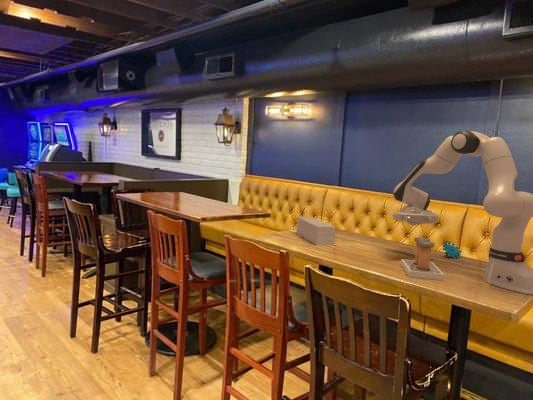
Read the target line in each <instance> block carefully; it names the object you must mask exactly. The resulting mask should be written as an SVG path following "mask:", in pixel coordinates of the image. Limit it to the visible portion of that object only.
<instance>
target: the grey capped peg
mask: <svg viewBox="0 0 533 400" xmlns="http://www.w3.org/2000/svg"><path fill="white" fill-rule="evenodd" d="M418 246H420V253H419V263H418V269H419V270H423V271H429V264H430V262H431V252H432V248H435V242H433V241H430V242H429V241H418Z"/></svg>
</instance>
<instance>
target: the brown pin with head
mask: <svg viewBox="0 0 533 400" xmlns="http://www.w3.org/2000/svg"><path fill="white" fill-rule="evenodd" d="M413 241H414V242H415V243H416V246H415V255H414V260H415V264H414V265H418V263H419V253H420V246H418V241H429V242H431V239H430V238H427V237H420V236H418V237H417V236H416V237H414V240H413Z"/></svg>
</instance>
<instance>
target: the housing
mask: <svg viewBox="0 0 533 400" xmlns="http://www.w3.org/2000/svg"><path fill="white" fill-rule="evenodd" d="M414 264H415V259H404V258H403V259H402V258H401V259H400V266H401V268H402V269H403V271H404V272H405V274H406V276H407V277H408V278H413V279H424V280H433V281H445V273H444V272H443V271H441V269H440V268H439V267H438V266H437V265H436V264H435V263H434V262H433V261H430V264H429V271H423V270H419V269H418V265H414Z"/></svg>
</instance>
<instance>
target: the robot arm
mask: <svg viewBox="0 0 533 400" xmlns="http://www.w3.org/2000/svg"><path fill="white" fill-rule="evenodd" d="M464 155H465V156H469V157H476V158H481V159H482V162H483V166H484V169H485V172H486V176H487V181H488V191H487V195H485V197H484V199H483V203H482V204H483V210H484V212H486V213H487V214H488V215H489V216H493V217H496V218H501V219H500V221H499V223H498V225H496V226H495V227H494V228H493V231H492V237H491V245H490V247H489V251H488V262H487V263H488V264H487V266H486V269H485V273H484V275H483V276H482V280H484V281H486V282H487V283H490V284H489V285H490V286H494V287H498V288H502V289H506V290H509V291H513V292H517V293H522V294H525V295H533V268H531V267H530V265H528V264H527V263H526V262H525V259H527V258H528V255H527V254H524V253H523V252H522V247H523V240H524V235H525V232H526V229H527V227H528V225H529V223H530V221H531V219H532V217H533V194H532V193H530V192H528V191H527V192H526V191H518V190H517V191H516V190H515V180H516V179H518V175H519V172H518V170H517V168H516V163H515V161H514V158H513V155H512V152H511V150H510V147H509V146H508V144H507V142H506V141H505V139H504V138H502V137H500V136H490V135H489V134H485V133H481V132H478V131H472V130H466V129H465V130H460V131H457V132H455V133H454V135H449V136H448V137H446V138H445V139H444V141H443V142H441V144H440V145H439V147H438V148H437V149H436V151H435V152H434V153H433V155H431V156H430V157H427V158H423V159H421V160H420V161H419V162H418V163H417V164H416V165H415V166H414V167H413V168H412V170H410V172H409V173H408V174H407V175H406V176H405V177H404V178H403V179H402V180H401V181H400V182H399V183H398V184H397V185H396V186H395V187H394V188H393V192H392V194H393V197H394V200H395V201H397V202H401V203H403V204H405V206H403V207H402V208H401V210H400V212H399V211H395V212H394V214H391V215H392V217H394V220H395V221H400V222H406V223H408V225H411V226H416V225H423V224H424V225H427V224H437V223H439V215H438V214H436V212H432V211H431V210H429V209H428V208H429V205H430V203H431V199H430V198H431V197H430V195H429V193H427V192H425V191H424V190H421V189H419V188H417V187H414V186H413V185H412V184H413V183H414V181H416V180H417V178H418V177H419V176H420V175H424V174H434V175H442V174H443V175H444V174H447V173H449V172H450V171H452V169H454V167H455V166H456V165H457V163H458V162H459V160H460V159H461V157H463V156H464Z"/></svg>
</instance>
